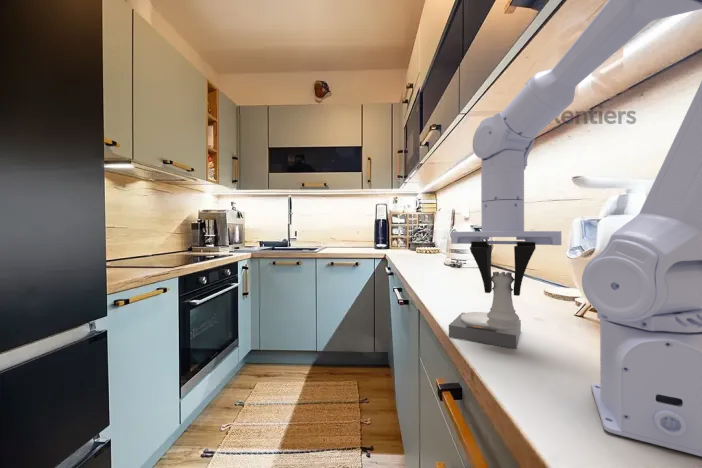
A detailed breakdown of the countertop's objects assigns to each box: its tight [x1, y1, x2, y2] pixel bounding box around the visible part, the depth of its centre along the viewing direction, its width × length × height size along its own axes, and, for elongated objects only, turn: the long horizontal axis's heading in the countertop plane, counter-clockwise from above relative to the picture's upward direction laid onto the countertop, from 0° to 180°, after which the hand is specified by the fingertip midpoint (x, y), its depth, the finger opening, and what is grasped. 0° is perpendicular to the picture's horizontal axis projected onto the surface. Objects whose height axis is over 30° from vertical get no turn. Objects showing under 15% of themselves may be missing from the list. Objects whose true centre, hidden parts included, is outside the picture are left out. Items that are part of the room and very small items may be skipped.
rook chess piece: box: [487, 271, 520, 330], centre depth 46 cm, size 4×4×8 cm
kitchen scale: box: [448, 311, 522, 350], centre depth 53 cm, size 10×10×3 cm
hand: (502, 293), depth 46 cm, fingers closed on rook chess piece, 3 cm apart
